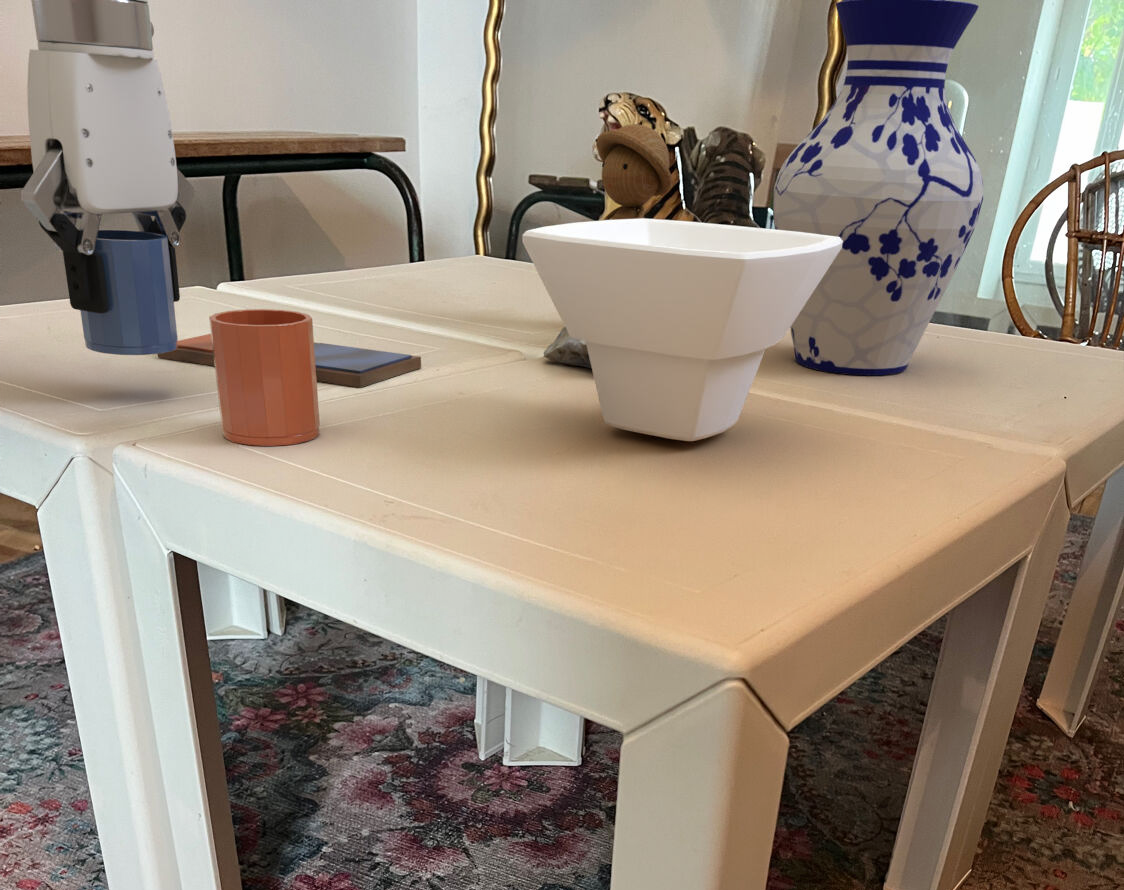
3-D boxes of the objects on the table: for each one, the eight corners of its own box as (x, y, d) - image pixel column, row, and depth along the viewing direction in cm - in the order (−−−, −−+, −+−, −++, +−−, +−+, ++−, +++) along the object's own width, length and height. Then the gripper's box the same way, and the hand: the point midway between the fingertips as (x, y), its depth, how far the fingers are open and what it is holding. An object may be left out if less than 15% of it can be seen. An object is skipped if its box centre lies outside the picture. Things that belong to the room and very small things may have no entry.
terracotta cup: (202, 437, 80) (188, 318, 76) (263, 417, 85) (252, 305, 81) (281, 451, 78) (270, 329, 74) (338, 430, 83) (330, 315, 79)
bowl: (623, 393, 97) (634, 216, 90) (836, 432, 88) (866, 237, 81) (495, 436, 83) (496, 229, 76) (732, 486, 74) (758, 258, 67)
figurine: (572, 326, 125) (581, 121, 115) (620, 321, 129) (632, 123, 119) (628, 340, 119) (641, 124, 109) (675, 334, 123) (693, 126, 113)
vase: (973, 364, 114) (1046, 13, 99) (910, 394, 101) (985, -8, 86) (800, 339, 123) (844, 14, 108) (721, 364, 110) (759, -5, 95)
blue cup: (66, 346, 86) (49, 232, 82) (130, 334, 92) (117, 227, 88) (134, 359, 84) (120, 242, 80) (196, 346, 89) (186, 236, 85)
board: (157, 357, 103) (155, 343, 102) (229, 341, 111) (227, 328, 110) (360, 387, 95) (359, 373, 95) (421, 367, 103) (421, 354, 102)
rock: (531, 347, 107) (598, 264, 107) (570, 388, 111) (635, 309, 110) (587, 370, 99) (661, 280, 98) (627, 414, 103) (698, 328, 102)
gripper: (142, 38, 86) (167, 288, 94) (-53, 17, 72) (-2, 312, 81) (221, 43, 83) (239, 299, 92) (35, 22, 69) (78, 326, 78)
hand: (127, 303), depth 86 cm, fingers closed on blue cup, 6 cm apart
